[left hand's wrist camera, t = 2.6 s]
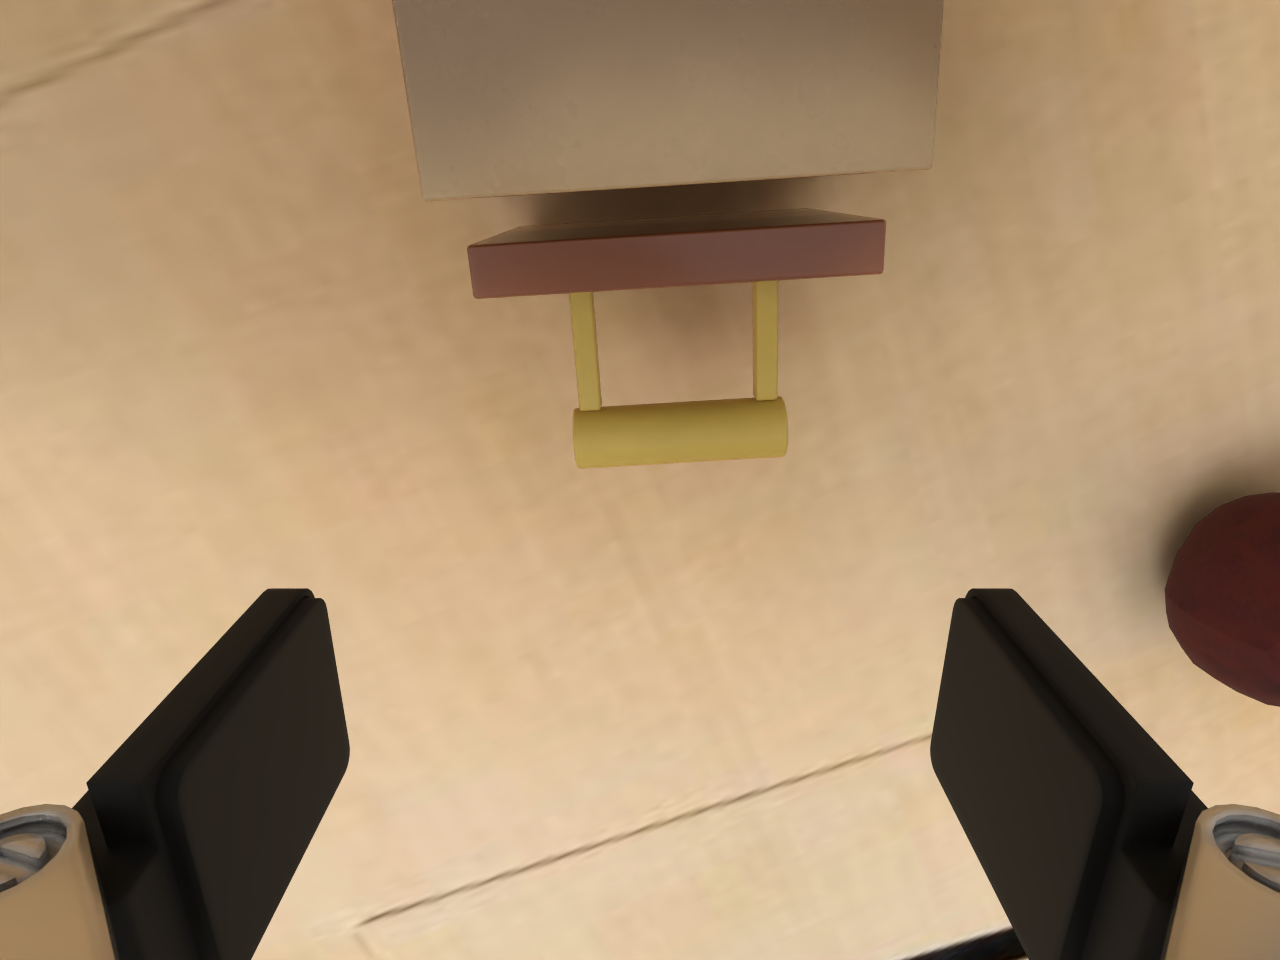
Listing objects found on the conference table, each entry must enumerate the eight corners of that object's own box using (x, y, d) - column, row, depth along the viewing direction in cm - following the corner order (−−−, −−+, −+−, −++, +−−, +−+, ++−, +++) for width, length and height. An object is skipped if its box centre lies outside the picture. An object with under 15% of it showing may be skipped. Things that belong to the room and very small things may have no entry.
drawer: (805, 400, 27) (872, 485, 20) (538, 416, 28) (501, 507, 20) (821, -489, 19) (949, -946, 11) (441, -461, 19) (312, -894, 12)
